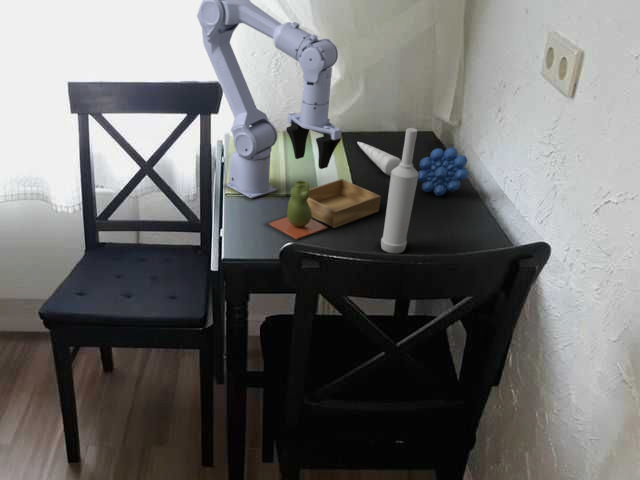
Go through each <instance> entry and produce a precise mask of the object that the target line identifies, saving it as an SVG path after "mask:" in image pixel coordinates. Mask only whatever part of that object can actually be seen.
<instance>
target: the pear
mask: <svg viewBox="0 0 640 480" xmlns="http://www.w3.org/2000/svg"><path fill="white" fill-rule="evenodd" d="M310 189H311V188H310V185H309V182H308V181H304V180H296V181H295V182H294V185H293V186H292V188H291V189H290V198H289V199H288V201H287V202H288V203H287V208H286V217H287V218H288V221H289V222H290V223H291V224H292V225H294V226H298V227H301V226H305V225H306V224H308V223H309V221H310V220H311V219H312V218H313V217H312V212H311V209H310V207H309V204H308V202H307V199H308V197H309V191H310Z"/></svg>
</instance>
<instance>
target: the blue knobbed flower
mask: <svg viewBox="0 0 640 480" xmlns="http://www.w3.org/2000/svg"><path fill="white" fill-rule="evenodd" d="M458 153H459V152H458V149H457V148H455V147H449V148H446V150H443V149H442V148H439V147H438V148H437V147H436V148H435V149H432V151H431V152H430V155H429V157H428V156H426V157H423V158H421V160H420V161H419V164H418V165H419V168H420V169H421V170H419V171H417V172H418V174H419V175H418V180H417V182H420V183H422V185H421V189H422V191H423V192H424V193H430V192H432V191H433V194H434V195H435V196H437V197H441V196H444V195H445V194H446V193H447V191H449V192H451V193H452V192H455V191H457V190H459V188H460V186H461V182H460V181H463V180H466V179H467V178H468V176H469V170H468V168H466V165H467V164H468V158H467V157H466V155H463V154H460V155H458Z"/></svg>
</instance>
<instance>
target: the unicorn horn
mask: <svg viewBox="0 0 640 480" xmlns="http://www.w3.org/2000/svg"><path fill="white" fill-rule="evenodd" d="M357 145H358V146H359V148H360V149H361V150H362V151H363V153H365V154H366V156H367V157H368V158H369V159H370V160H371V161H372V162H373V163H374V164H375V165H376V166H377V167H378V168H379V169H380V170H381V171H382V172H383V173H384V174H385V175H386V176H389V177H391V171H392V170H393V169H394V168H396V167H397V166H399V163H401V162H402V159H400V158H399V157H398V156H395V155H392V154H391V153H388V152H386V151H383V150H382V149H380V148H377V147H375V146H373V145H370V144H367V143H364V142H361V141H357Z"/></svg>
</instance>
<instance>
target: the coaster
mask: <svg viewBox="0 0 640 480" xmlns="http://www.w3.org/2000/svg"><path fill="white" fill-rule="evenodd" d="M268 226H270V227H272V228H274V229H276V230H278V231H280V232H281V233H283V234H285V235H287V236H288V237H291V238H293V239H294V240H296V241H297V240H301V239H303V238H306V237H308V236H311V235H315V234H317V233H319V232H322V231H326V230H328V226H326V225H324V223H322V222H321V223H320V222H319V221H318V220H317V221H316V219H314V218H313V219H312V218H311V220H310V221H309V223H308V224H306V225H305V226H301V227H298V226H294V225H292V224H291V223H290V222H289V221H288V218H287V216H286V217H283V218H280V219H277V220H274V221H271V222H268Z"/></svg>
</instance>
